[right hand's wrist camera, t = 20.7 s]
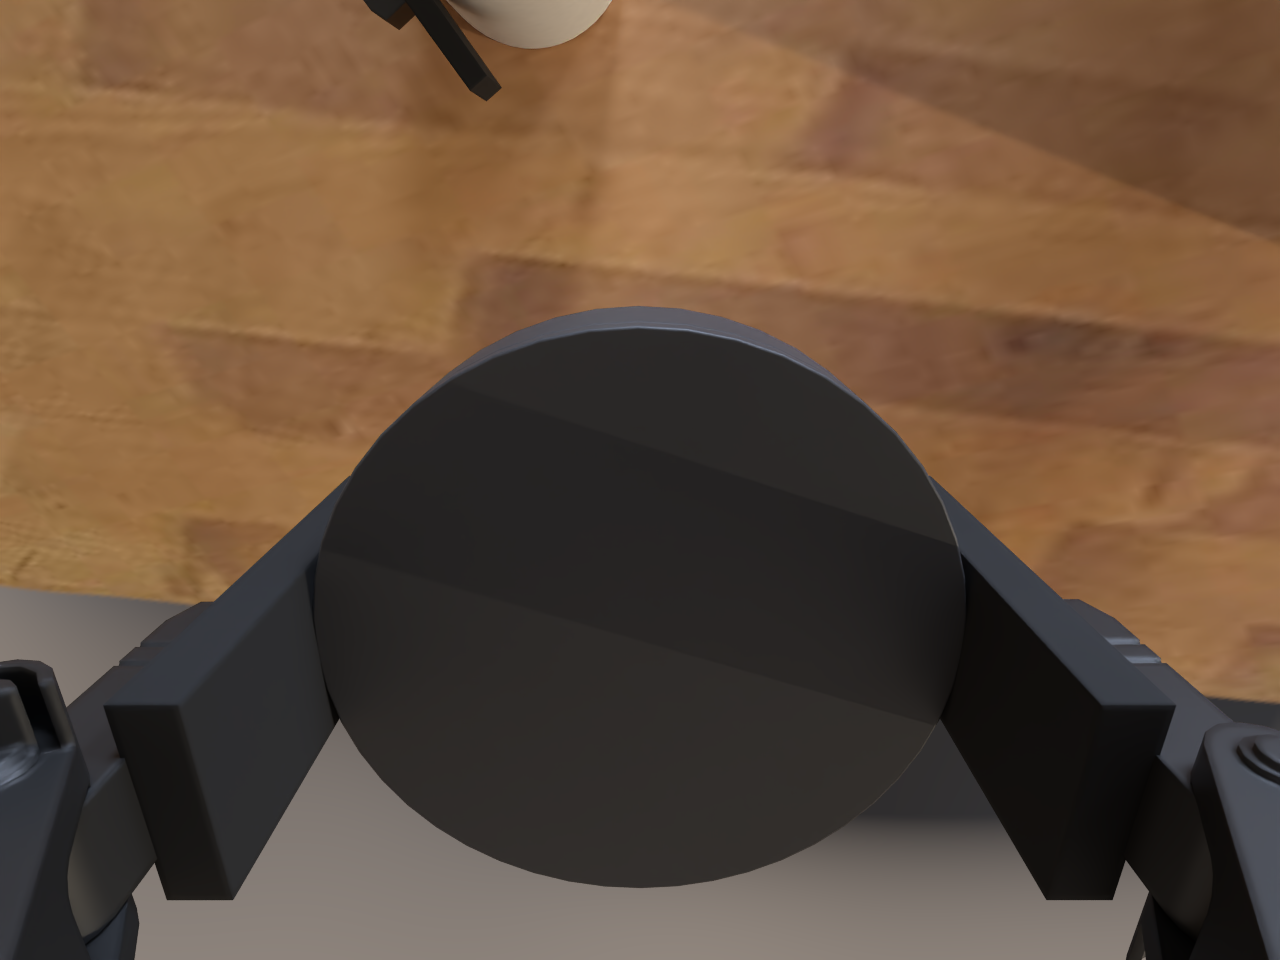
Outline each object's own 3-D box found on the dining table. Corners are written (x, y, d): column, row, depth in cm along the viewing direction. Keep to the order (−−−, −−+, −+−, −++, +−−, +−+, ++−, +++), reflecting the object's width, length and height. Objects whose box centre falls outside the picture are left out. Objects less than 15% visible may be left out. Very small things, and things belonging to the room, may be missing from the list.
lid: (958, 303, 10) (1024, 324, 9) (882, 798, 14) (919, 888, 12) (319, 306, 10) (251, 327, 9) (398, 801, 14) (362, 890, 12)
